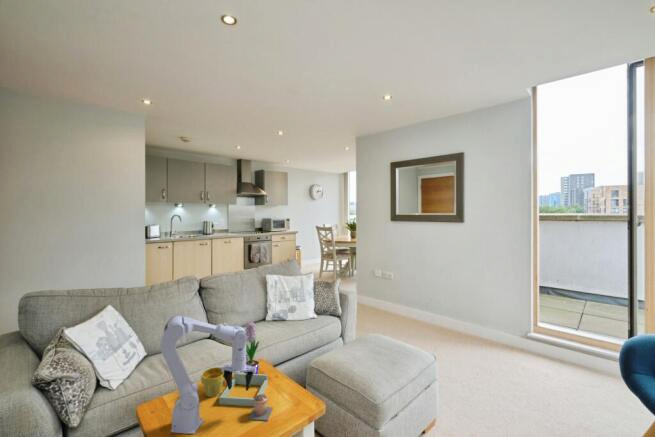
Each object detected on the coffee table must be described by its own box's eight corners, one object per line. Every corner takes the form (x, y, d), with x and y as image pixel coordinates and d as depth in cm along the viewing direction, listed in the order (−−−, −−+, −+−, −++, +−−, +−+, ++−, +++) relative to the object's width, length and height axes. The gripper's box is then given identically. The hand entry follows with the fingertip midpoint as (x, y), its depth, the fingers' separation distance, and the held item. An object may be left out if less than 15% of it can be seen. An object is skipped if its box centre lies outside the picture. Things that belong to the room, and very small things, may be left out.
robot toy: (196, 398, 137) (196, 393, 137) (185, 416, 125) (185, 410, 125) (180, 399, 136) (180, 393, 136) (167, 416, 124) (167, 410, 124)
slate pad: (248, 419, 122) (248, 418, 122) (255, 407, 130) (255, 406, 130) (267, 421, 121) (267, 419, 121) (272, 408, 129) (272, 407, 129)
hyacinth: (262, 371, 159) (263, 316, 159) (256, 382, 149) (256, 323, 149) (247, 370, 160) (247, 315, 160) (239, 381, 150) (239, 322, 150)
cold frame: (219, 404, 132) (219, 393, 132) (234, 382, 149) (234, 372, 149) (256, 406, 130) (256, 395, 130) (267, 384, 147) (267, 374, 147)
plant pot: (219, 400, 135) (219, 378, 134) (197, 399, 135) (197, 378, 135) (228, 387, 145) (228, 367, 145) (207, 386, 145) (207, 366, 145)
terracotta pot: (251, 413, 125) (250, 399, 125) (260, 406, 130) (260, 392, 130) (261, 418, 122) (261, 403, 122) (270, 410, 127) (270, 396, 127)
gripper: (218, 360, 123) (218, 393, 123) (252, 362, 122) (252, 395, 122) (225, 352, 130) (225, 383, 130) (258, 354, 129) (257, 385, 129)
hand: (238, 388), depth 126 cm, fingers open, 7 cm apart
